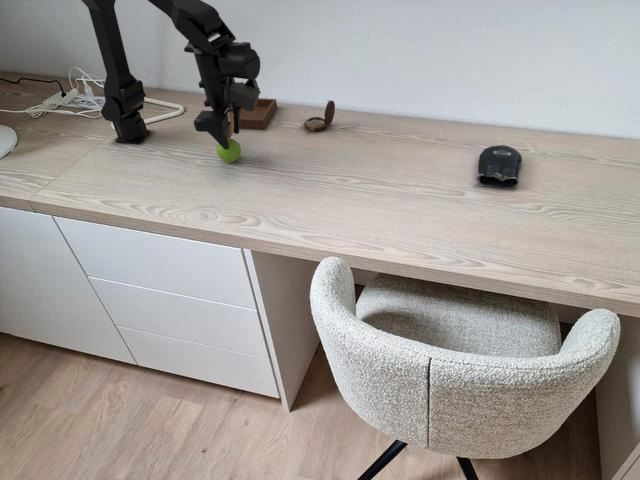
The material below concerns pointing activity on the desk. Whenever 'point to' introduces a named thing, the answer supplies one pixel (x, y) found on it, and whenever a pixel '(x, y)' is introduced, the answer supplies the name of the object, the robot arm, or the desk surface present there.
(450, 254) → the desk surface
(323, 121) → the compass
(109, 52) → the robot arm
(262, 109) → the tray
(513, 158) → the black beanie hat
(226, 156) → the green and brown figure
